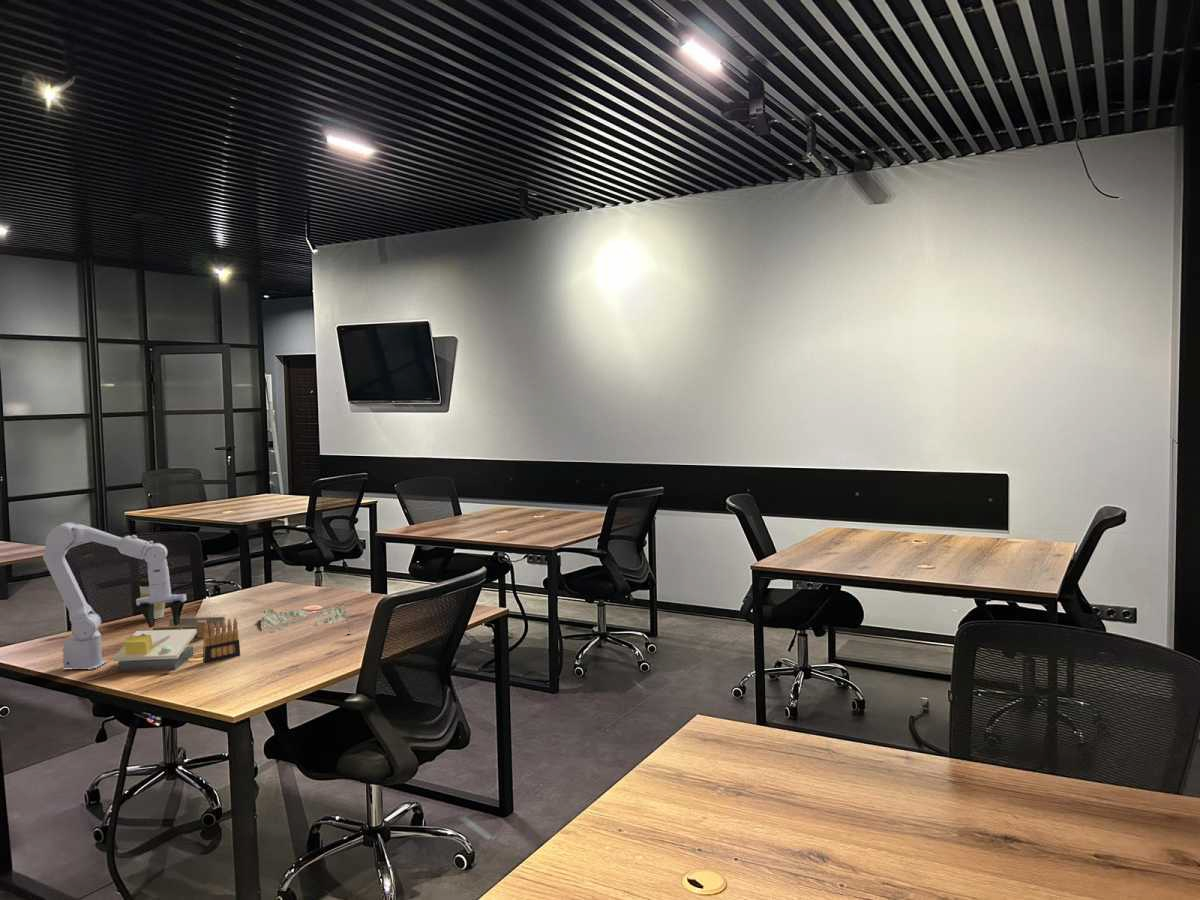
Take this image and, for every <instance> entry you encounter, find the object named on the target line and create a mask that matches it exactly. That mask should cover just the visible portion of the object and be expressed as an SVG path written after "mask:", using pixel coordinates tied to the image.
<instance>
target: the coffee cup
mask: <svg viewBox="0 0 1200 900" xmlns="http://www.w3.org/2000/svg"><path fill="white" fill-rule="evenodd" d="M137 585H138V587H139V591H140V592H139V595H140V598H143V597H151V596H150V587H149V578H148V577H144V578H140V580H139V582H138V583H137ZM165 608H166V603H154V619H158V618H162V617H163V618H164V616H165V615H164V614H165ZM163 618H162V619H163ZM158 620H159V619H158Z"/></svg>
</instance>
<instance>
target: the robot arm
mask: <svg viewBox="0 0 1200 900" xmlns="http://www.w3.org/2000/svg"><path fill="white" fill-rule="evenodd" d="M88 541H89V542H93V543H96V544H97V543H98V544H101V545H104V546H109V547H114V548H116V549H117V550H118V552H119V553H120V554H122V555H125V556H128V557H132V558H134V559H139V560H144V561H145V562H146V563H147V564H146V565H147V575H148V576H147V578H149V587H150V596H151V597H143V598H141V597H139V598H136V599H135V602H136V606H139V607H138V611H140V613H141V614H142V615H143V616H144V620H145V619H146V620H145V621H146V622H147V626H148V627H149V628H154V627H153V626H155V627H156V623H155V622H156V620H154V603H165V604H166V603H169V607H170V610H171V613H172V618H173V623H174V625H178V624H179V622H180V618H181V615H182V610H183V607H184V605H185V603H186V601H187V600H188V599H187V593H180V594H179V593H178V594H175V593H172V587H171V580H170V579H171V578H170V571H169V566H168V561H167V560H168V559H167V556H168V549H167V547H166V546H165V545H164V544H162V543H161V542H155V543H154V541H153V540H144V539H142V538H141V539H140V538H139V537H138V535H136V534H133V535H126V536H123V537H120V536H117V535H115V534H111V533H108V532H107V531H102V530H101V529H98V528H95V527H91V526H88V525H84V524H80V523H75V522H72V521H71V522H70V521H66V522H63V523H62V524H60V525H57V526H54V527H53V528H52V529H51V531H50V532H49V533H48V535H47V536H46V538H45V546H44V551H43V556H42V558H43V561H44V563H45V565H46V567H47V569H48V571H49V574H50V576H51V577H52V578H51V579H52V581H53V582H54V585H55V587H56V588H57V590H58V592H59V595H60V597H61V598H62V600H63V603H64V604H65V606H66V608H67V611H68V616H69V621H70V624H71V627H70V630H71V634H72V637H69V638H66V640H65V641H64V643H63V647H62V657H63V668H72V669H73V668H74V669H76V668H77V669H82V668H83V669H84V668H96V669H98V668H100V667H101V666H103V665H104V663H105V664H106V663H108V662H109V661H108V659H107V660H105V659H103V657H102V656H103V655H102V633H100V631H99V629H100V628H101V626H102V619H101V616H100V615H99V614H98V613H96V612H95V611H94V610H93V607H92V606H91V605H90V604H89V603H88V602H87V601H86V598H85V596H84V594H83V592H82V589H81V588H80V586H79V583H78V581H77V579H76V577H75V575H74V573H73V571H72V569H71V567H70V565H69V563H68V561H67V559H66V555H67V553H68V551H69V550H70V548H71V546H72V545H73V544H74V543H76V544H78V543H82V542H88ZM107 661H108V662H107ZM102 664H103V665H102ZM99 666H100V667H99ZM97 667H98V668H97Z"/></svg>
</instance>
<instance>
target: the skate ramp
mask: <svg viewBox="0 0 1200 900" xmlns="http://www.w3.org/2000/svg"><path fill="white" fill-rule="evenodd" d="M225 616H226V615H225V614H215V613H214V614H213V616H212V615H209V616H208V614H205V616H194V614H191V617H189V615H183V614H181V615H180V622H179V624H178V625H174V623H173V617H169V621H168V622H169V623H168V626H162V624H159V626H158V624H155V626H153V627H152V630H177V629H181V628H183V629H197V633H196V634H195V636H198V637H197V639H204V627H205V624H206V623H207V625H208V632H209V636H210V626H211V623H213V625H214V628H216V624H217V621H218V622H219V625H220V628H222V622H223V620H224V621H225V622H226V617H225Z"/></svg>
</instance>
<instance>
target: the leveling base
mask: <svg viewBox="0 0 1200 900" xmlns="http://www.w3.org/2000/svg"><path fill="white" fill-rule="evenodd" d="M192 656H193V657H194V646H186V648H185V649H184V650H183V652H182V653H181V655H180V656H179V657H178V659H160V660H134V661H117V662H118V663H117V665H118V672H119V671H129V672H150V671H151V672H152V671H154V672H155V671H175V670H177V669H178V668H179V667H181V666H182V665H183V663H184V664H185V663H186V662H188V661H189V660H190V659H191V658H190V657H192ZM193 657H192V658H193ZM189 658H190V659H189ZM188 659H189V660H188ZM187 660H188V661H187Z"/></svg>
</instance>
